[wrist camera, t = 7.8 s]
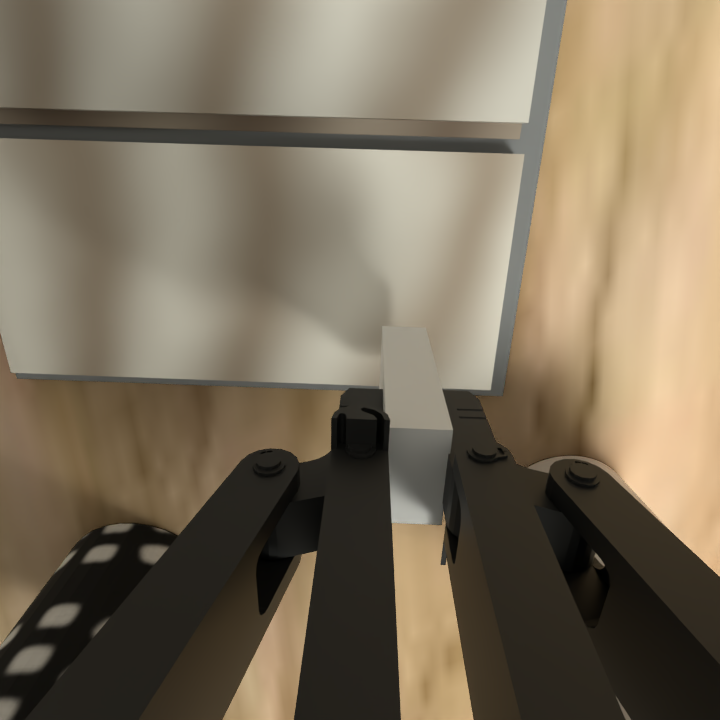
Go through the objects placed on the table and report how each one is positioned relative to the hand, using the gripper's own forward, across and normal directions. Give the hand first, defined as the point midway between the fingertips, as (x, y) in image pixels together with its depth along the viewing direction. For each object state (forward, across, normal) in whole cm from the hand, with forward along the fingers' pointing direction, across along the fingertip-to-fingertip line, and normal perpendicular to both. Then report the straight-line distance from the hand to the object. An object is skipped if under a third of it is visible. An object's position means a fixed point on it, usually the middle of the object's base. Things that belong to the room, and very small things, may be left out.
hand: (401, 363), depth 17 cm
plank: (+4, -6, +2) cm, 7 cm away
